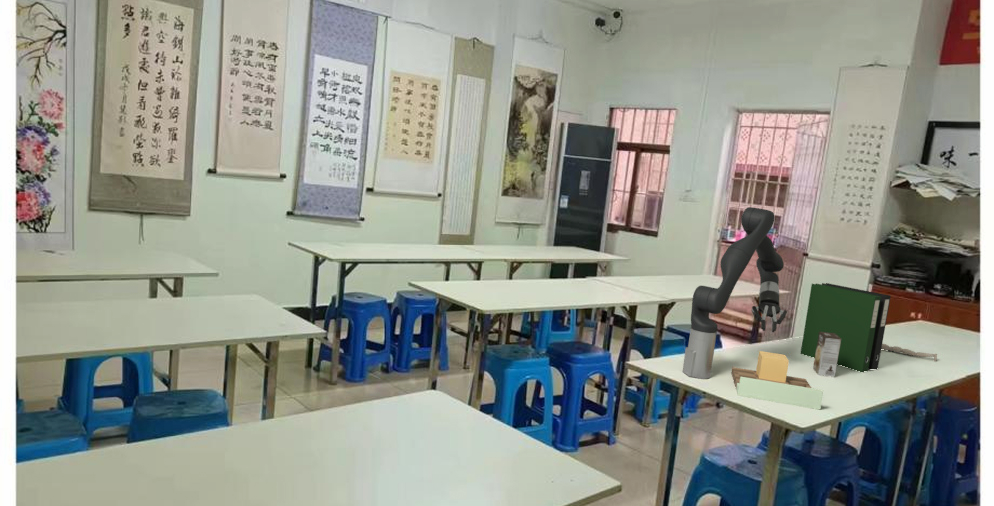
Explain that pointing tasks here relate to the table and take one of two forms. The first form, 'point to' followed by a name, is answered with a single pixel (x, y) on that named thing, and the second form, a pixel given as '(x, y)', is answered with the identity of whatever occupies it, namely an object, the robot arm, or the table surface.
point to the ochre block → (772, 366)
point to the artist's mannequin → (908, 351)
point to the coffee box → (827, 354)
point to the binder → (847, 323)
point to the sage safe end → (779, 392)
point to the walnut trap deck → (753, 374)
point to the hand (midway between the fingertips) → (768, 330)
